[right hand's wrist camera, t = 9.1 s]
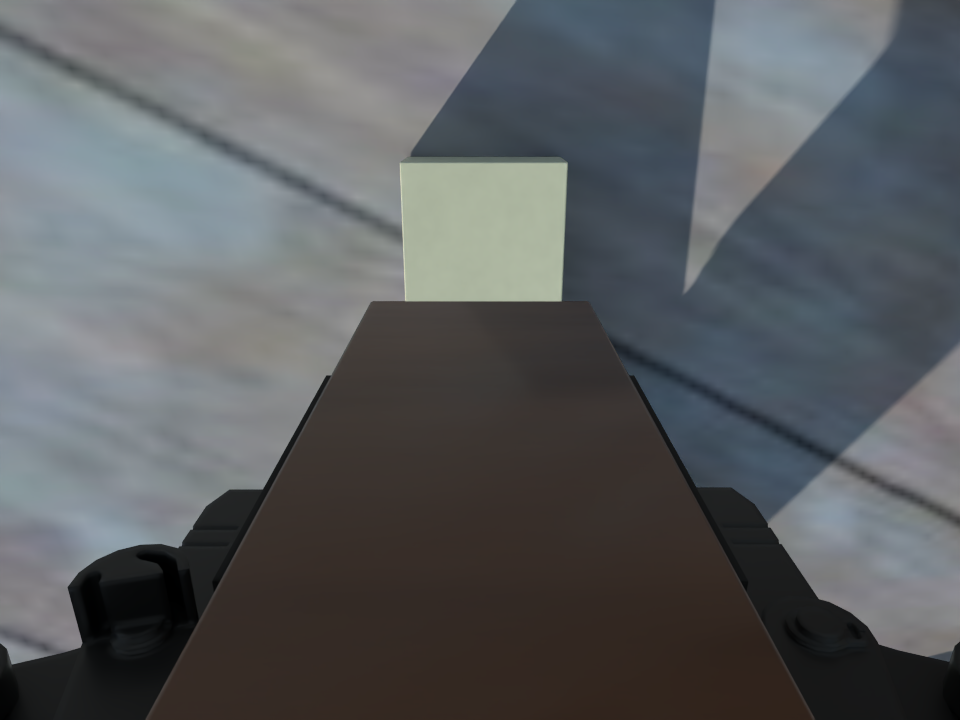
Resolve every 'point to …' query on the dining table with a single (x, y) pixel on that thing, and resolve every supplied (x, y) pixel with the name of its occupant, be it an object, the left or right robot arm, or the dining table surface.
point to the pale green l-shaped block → (483, 228)
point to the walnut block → (480, 546)
